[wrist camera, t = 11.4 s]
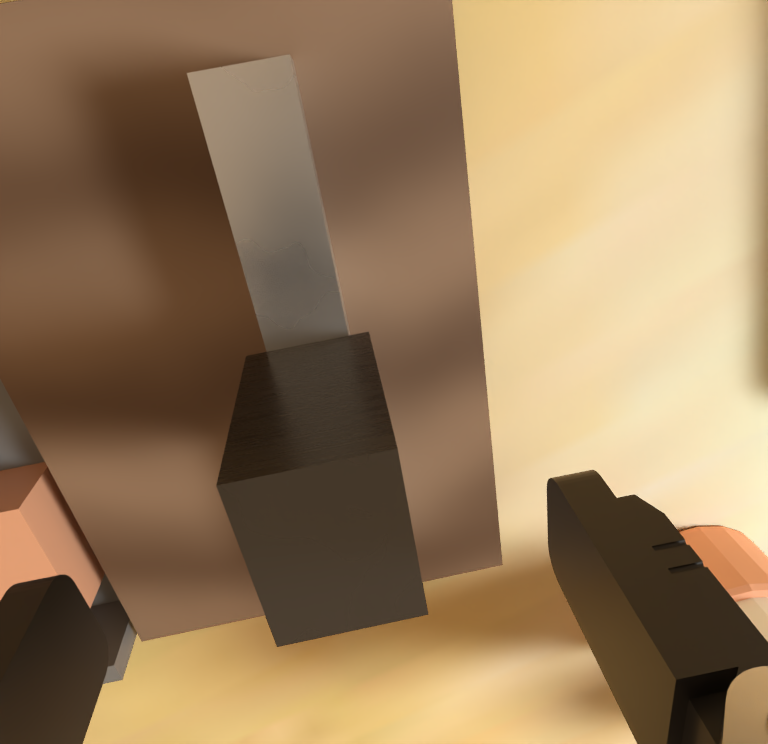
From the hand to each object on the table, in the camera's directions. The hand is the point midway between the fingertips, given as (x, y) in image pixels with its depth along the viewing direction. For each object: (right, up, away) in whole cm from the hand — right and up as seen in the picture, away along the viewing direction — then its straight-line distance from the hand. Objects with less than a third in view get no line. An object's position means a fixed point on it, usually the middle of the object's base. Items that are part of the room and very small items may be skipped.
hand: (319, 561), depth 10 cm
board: (-3, +4, +9) cm, 11 cm away
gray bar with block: (-1, +3, +8) cm, 8 cm away
